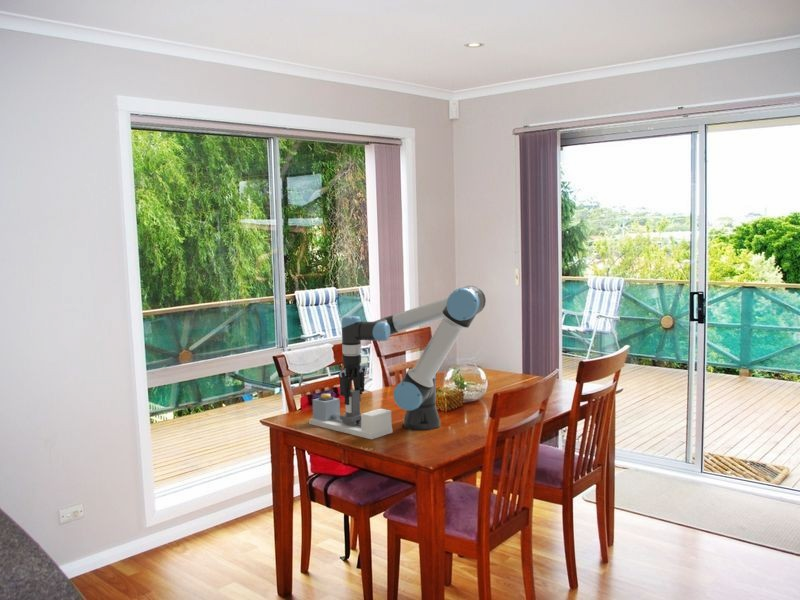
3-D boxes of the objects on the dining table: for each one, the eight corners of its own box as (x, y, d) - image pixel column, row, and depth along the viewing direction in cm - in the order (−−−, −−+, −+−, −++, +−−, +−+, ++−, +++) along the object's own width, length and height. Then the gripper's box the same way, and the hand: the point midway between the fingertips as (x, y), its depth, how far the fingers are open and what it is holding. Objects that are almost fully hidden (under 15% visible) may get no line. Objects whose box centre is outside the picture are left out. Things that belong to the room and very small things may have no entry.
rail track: (392, 432, 289) (392, 410, 288) (371, 439, 280) (371, 416, 279) (330, 418, 312) (330, 397, 311) (309, 423, 303) (309, 402, 302)
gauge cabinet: (340, 417, 305) (339, 398, 305) (325, 421, 299) (325, 402, 299) (327, 414, 311) (326, 396, 310) (313, 418, 305) (312, 399, 304)
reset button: (333, 406, 305) (333, 394, 304) (325, 407, 302) (325, 396, 301) (326, 404, 307) (326, 393, 307) (319, 406, 304) (318, 394, 304)
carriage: (366, 422, 295) (365, 390, 294) (352, 426, 289) (351, 393, 288) (354, 419, 300) (353, 387, 298) (340, 423, 294) (339, 391, 292)
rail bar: (372, 427, 289) (372, 422, 288) (369, 428, 287) (369, 423, 287) (334, 418, 303) (334, 414, 303) (331, 419, 302) (331, 415, 301)
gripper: (359, 350, 301) (360, 405, 303) (329, 356, 288) (331, 413, 290) (372, 352, 296) (374, 408, 298) (342, 358, 283) (344, 416, 285)
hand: (352, 411), depth 294 cm, fingers closed on carriage, 4 cm apart
